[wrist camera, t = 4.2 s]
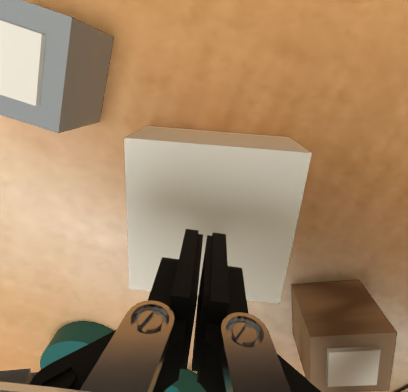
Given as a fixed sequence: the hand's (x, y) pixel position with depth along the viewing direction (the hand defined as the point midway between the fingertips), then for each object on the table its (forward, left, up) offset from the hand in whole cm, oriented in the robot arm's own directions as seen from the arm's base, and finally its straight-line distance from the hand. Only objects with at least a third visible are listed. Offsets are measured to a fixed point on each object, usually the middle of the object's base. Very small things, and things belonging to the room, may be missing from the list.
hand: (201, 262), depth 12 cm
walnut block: (-10, +8, -8) cm, 16 cm away
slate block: (+10, -7, -8) cm, 14 cm away
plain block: (0, 0, -9) cm, 9 cm away
